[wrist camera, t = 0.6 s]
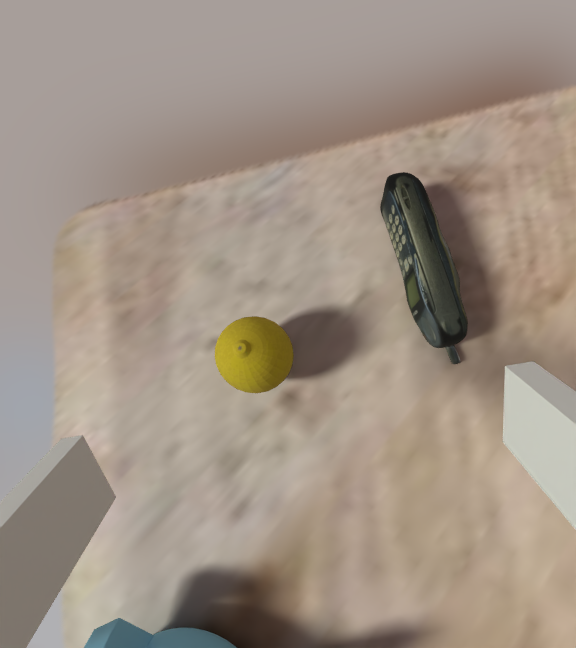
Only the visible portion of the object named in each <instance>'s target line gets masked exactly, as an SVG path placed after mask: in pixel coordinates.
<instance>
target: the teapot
mask: <svg viewBox="0 0 576 648" xmlns="http://www.w3.org/2000/svg"><path fill="white" fill-rule="evenodd" d="M84 648H237V647H236V646H234V645H233V644H231V643H230V642H229V641H227V640H226V639H224V638H222V637H220V636H218V635H216V634H214V633H211V632H208V631H205V630H201V629H196V628H174V629H168V630H165V631H161V632H158V633H156V634H154V635H152V634H150V633H148V632H146V631H144V630H142V629H140V628H138V627H136V626H134V625H132V624H130V623H128V622H126V621H124V620H123V619H121V618H118V619H115V620H113V621H111V622H109V623H107V624H105V625H103V626H101V627H99V628H97V629H95V630H94V631H93V633H92V635H91V636H90V638H89V640H88V642H87V643H86V645H85V647H84Z"/></svg>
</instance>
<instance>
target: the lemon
mask: <svg viewBox="0 0 576 648" xmlns="http://www.w3.org/2000/svg"><path fill="white" fill-rule="evenodd" d="M293 356H294V355H293V347H292V344H291V341H290V339H289V337H288V335H287V334H286V332H285V331H284V330H283V329H282V328H281V327H280V326H279V325H277V324H276V323H275V322H273V321H271V320H268V319H266V318H261V317H244V318H242V319H239V320H236V321H234V322H233V323H231V324H230V325H228V326H227V327H226V328H225V329H224V330H223V331H222V333H221V335H220V337H219V338H218V341H217V344H216V347H215V360H216V365H217V367H218V370H219V372H220V374H221V375H222V377H223V378H224V379H225V380H226V381H227V382H228V383H229V384H230V385H232V386H233V387H235V388H236V389H238V390H241V391H244V392H248V393H261V392H266V391H269V390H271V389H273V388H275V387H277V386H278V385H279V384H280V383H281V382H283V381H284V379H285V378H286V377H287V375H288V374H289V372H290V369H291V367H292V363H293Z"/></svg>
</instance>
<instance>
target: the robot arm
mask: <svg viewBox="0 0 576 648" xmlns="http://www.w3.org/2000/svg"><path fill="white" fill-rule="evenodd" d="M503 443H504V444H505V445H506V446H507V448H508V449H509V450H510V451H511V452H512V454H513V455H514V456H515V457H516V459H517V460H518V461H519V462H520V463H521V465H522V466H523V467H524V468H525V469H526V471H527V472H528V473H529V474H530V475H531V477H532V478H533V479H534V480H535V481H536V483H537V484H538V485H539V486H540V487H541V489H542V490H543V491H544V492H545V493H546V495H547V496H548V497H549V498H550V499H551V501H552V502H553V503H554V504H555V506H556V507H557V508H558V509H559V510H560V512H561V513H562V514H563V515H564V516H565V518H566V519H567V520H568V521H569V522H570V524H571V525H572V526H573V527H574V528H575V530H576V391H575V390H573V389H572V388H570V387H569V386H568V385H566V384H565V383H563V382H562V381H560V380H559V379H558V378H556V377H555V376H553V375H552V374H551V373H549V372H548V371H546V370H545V369H543V368H542V367H541V366H539V365H538V364H536V363H535V362H534V361H532V362H526V363H520V364H514V365H508V366H505V384H504V419H503ZM115 498H116V496H115V494H114V492H113V490H112V489H111V487H110V485H109V483H108V481H107V479H106V477H105V476H104V474H103V472H102V470H101V468H100V466H99V464H98V463H97V461H96V459H95V457H94V455H93V453H92V451H91V450H90V448H89V446H88V444H87V442H86V440H85V438H84V437H83V435H81V436H75V437H69V438H63V439H61V440H60V441H59V442H58V443H57V444H56V445H55V446H54V447H53V448H52V449H51V450H50V451H49V452H48V453H47V454H46V455H45V456H44V458H42V459H41V460H40V461H39V463H38V464H37V465H36V466H35V467H34V468H33V469H32V470H31V471H30V472H29V473H28V474H27V475H26V476H25V477H24V478H23V479H22V480H21V481H20V482H19V483H18V484H17V485H16V486H15V487H14V488H13V489H12V490H11V492H10V493H9V494H8V495H7V496H6V497H5V498H4V499H3V500H2V501H1V502H0V648H26V647H27V645H28V644H29V642H30V640H31V639H32V637H33V635H34V633H35V632H36V630H37V628H38V627H39V625H40V623H41V622H42V620H43V618H44V617H45V615H46V613H47V612H48V610H49V608H50V607H51V605H52V603H53V602H54V600H55V598H56V597H57V595H58V593H59V592H60V590H61V588H62V587H63V585H64V583H65V582H66V580H67V578H68V577H69V575H70V573H71V572H72V570H73V568H74V567H75V565H76V563H77V562H78V560H79V558H80V557H81V555H82V553H83V552H84V550H85V548H86V547H87V545H88V543H89V542H90V540H91V538H92V537H93V535H94V533H95V531H96V530H97V528H98V526H99V525H100V523H101V521H102V520H103V518H104V516H105V515H106V513H107V511H108V510H109V508H110V506H111V505H112V503H113V501H114V500H115Z"/></svg>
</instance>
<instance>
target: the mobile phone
mask: <svg viewBox="0 0 576 648" xmlns="http://www.w3.org/2000/svg"><path fill="white" fill-rule="evenodd" d="M381 213H382V216H383V219H384V221H385V224H386V227H387V229H388V232H389V235H390V238H391V241H392V244H393V247H394V250H395V253H396V256H397V259H398V262H399V265H400V268H401V272H402V276H403V280H404V285H405V290H406V296H407V301H408V305H409V307H410V310H411V313H412V315H413V317H414V320H415V322H416V323H417V325H418V327H419V328H420V330H421V332H422V334H423V336H424V337H425V339H426V340H427V341H428V342H429V344H431V345H432V346H433V347H436V348H444V347H445V348H446V350H447V352H448V355H449V357H450V360H451V362H452V364H458V363H460V358H459V355H458V353H457V351H456V349H455V346H454V344H457V343H458V342H460V341H461V340H463V339H464V337H465V336H466V333H467V324H468V322H467V317H466V313H465V310H464V307H463V304H462V301H461V297H460V282H459V276H458V273H457V271H456V268H455V265H454V263H453V260H452V257H451V253H450V250H449V248H448V246H447V244H446V242H445V240H444V238H443V236H442V233H441V230H440V227H439V224H438V221H437V218H436V215H435V212H434V210H433V207H432V205H431V203H430V200H429V198H428V195H427V193H426V191H425V188H424V186H423V185H422V183H421V182H420V180H419V179H418V178H416V177H415V176H414V175H412V174H409V173H404V172H403V173H396V174H393V175H390V176H389V177H388V178H387V181H386V184H385V188H384V193H383V198H382V202H381Z"/></svg>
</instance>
